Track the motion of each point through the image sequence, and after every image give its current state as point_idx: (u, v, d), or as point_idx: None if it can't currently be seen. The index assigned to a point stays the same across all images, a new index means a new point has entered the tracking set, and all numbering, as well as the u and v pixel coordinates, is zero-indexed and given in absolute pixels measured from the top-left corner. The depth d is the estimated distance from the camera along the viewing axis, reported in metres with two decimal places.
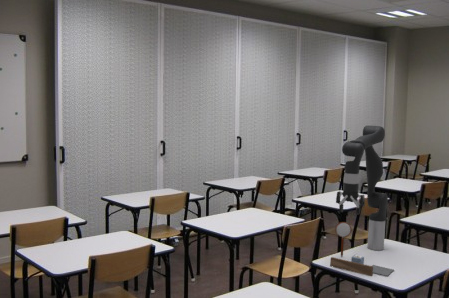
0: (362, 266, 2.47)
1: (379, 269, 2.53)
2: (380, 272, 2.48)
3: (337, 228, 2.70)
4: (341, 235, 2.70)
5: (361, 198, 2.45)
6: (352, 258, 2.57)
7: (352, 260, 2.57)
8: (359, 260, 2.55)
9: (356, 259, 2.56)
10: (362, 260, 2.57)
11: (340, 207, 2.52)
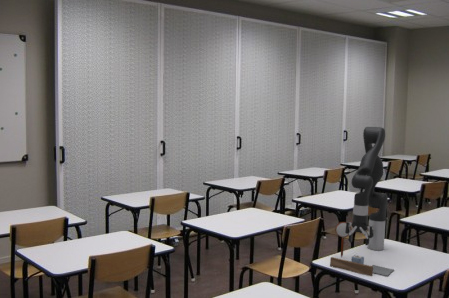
0: (362, 266, 2.47)
1: (379, 269, 2.53)
2: (380, 272, 2.48)
3: (337, 228, 2.70)
4: (341, 235, 2.70)
5: (370, 229, 2.52)
6: (352, 258, 2.57)
7: (352, 260, 2.57)
8: (359, 260, 2.55)
9: (356, 259, 2.56)
10: (362, 260, 2.57)
11: (349, 237, 2.59)
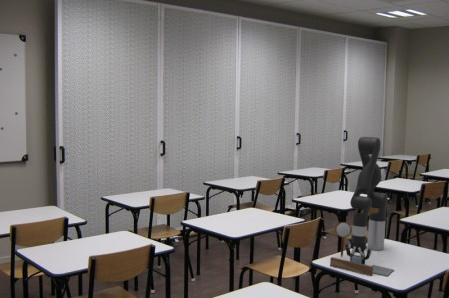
0: (362, 266, 2.47)
1: (379, 269, 2.53)
2: (380, 272, 2.48)
3: (337, 228, 2.70)
4: (341, 235, 2.70)
5: (368, 252, 2.53)
6: (352, 258, 2.57)
7: (352, 260, 2.57)
8: (359, 260, 2.55)
9: (356, 259, 2.56)
10: None
11: None
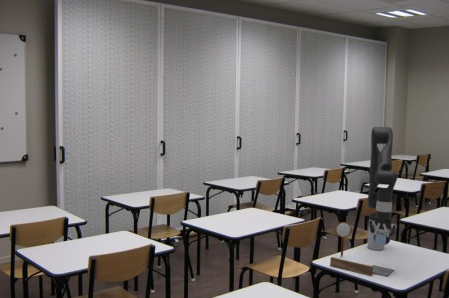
0: (362, 266, 2.47)
1: (379, 269, 2.53)
2: (380, 272, 2.48)
3: (337, 228, 2.70)
4: (341, 235, 2.70)
5: (393, 228, 2.45)
6: (376, 235, 2.49)
7: (376, 237, 2.49)
8: (384, 237, 2.46)
9: (381, 236, 2.47)
10: None
11: (375, 237, 2.51)
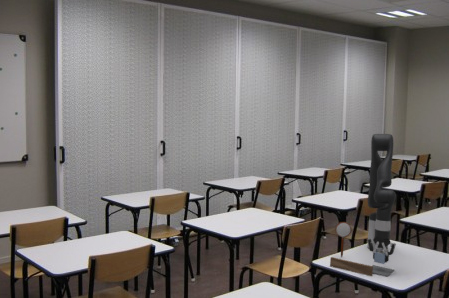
0: (362, 266, 2.47)
1: (379, 269, 2.53)
2: (380, 272, 2.48)
3: (337, 228, 2.70)
4: (341, 235, 2.70)
5: (392, 247, 2.46)
6: (375, 253, 2.49)
7: (375, 255, 2.49)
8: (383, 255, 2.47)
9: (379, 254, 2.48)
10: None
11: None
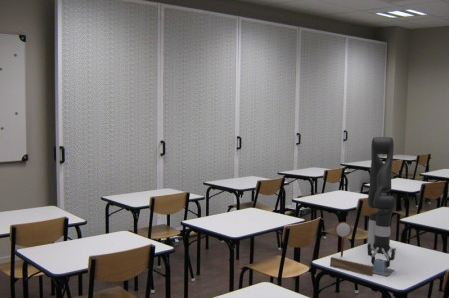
0: (362, 266, 2.47)
1: None
2: (380, 272, 2.48)
3: (337, 228, 2.70)
4: (341, 235, 2.70)
5: (392, 252, 2.46)
6: (375, 262, 2.50)
7: (375, 264, 2.50)
8: (382, 264, 2.48)
9: (379, 263, 2.49)
10: (385, 264, 2.50)
11: (372, 260, 2.52)
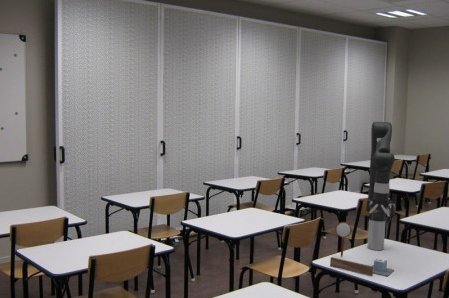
0: (362, 266, 2.47)
1: None
2: (380, 272, 2.48)
3: (337, 228, 2.70)
4: (341, 235, 2.70)
5: (392, 207, 2.50)
6: (375, 262, 2.50)
7: (375, 264, 2.50)
8: (382, 264, 2.48)
9: (379, 263, 2.49)
10: (385, 264, 2.50)
11: (370, 215, 2.57)
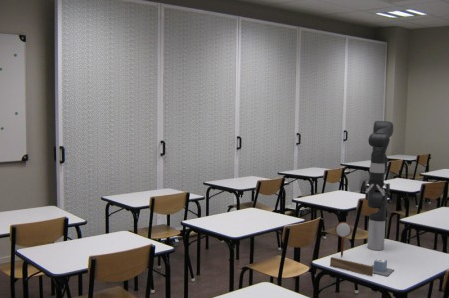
0: (362, 266, 2.47)
1: None
2: (380, 272, 2.48)
3: (337, 228, 2.70)
4: (341, 235, 2.70)
5: (387, 186, 2.58)
6: (375, 262, 2.50)
7: (375, 264, 2.50)
8: (382, 264, 2.48)
9: (379, 263, 2.49)
10: (385, 264, 2.50)
11: (366, 195, 2.65)
